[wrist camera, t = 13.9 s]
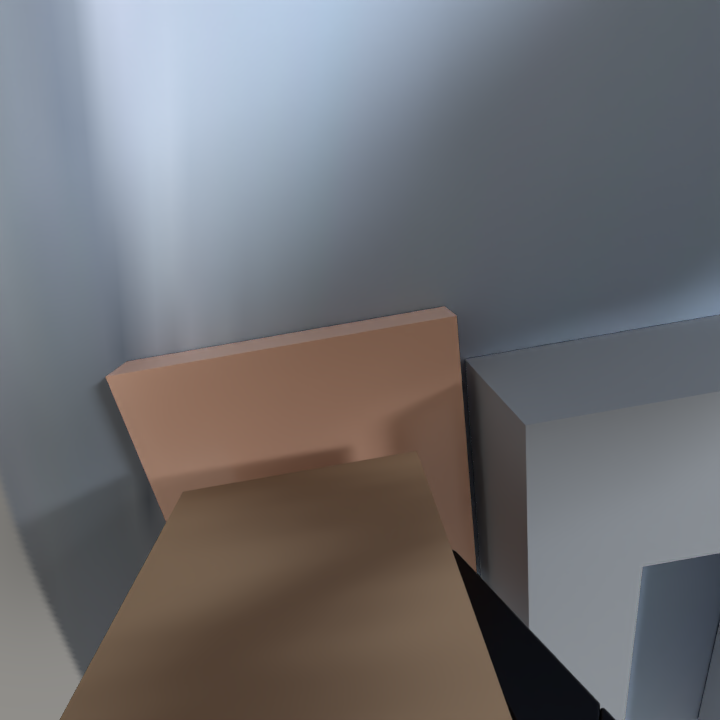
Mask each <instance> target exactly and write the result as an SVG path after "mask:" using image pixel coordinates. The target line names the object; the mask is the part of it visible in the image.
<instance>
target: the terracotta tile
mask: <svg viewBox="0 0 720 720" xmlns="http://www.w3.org/2000/svg"><path fill="white" fill-rule="evenodd" d="M106 379H107V382H108V384H109V386H110V389H111V391H112V394H113V396H114V398H115V401H116V403H117V406H118V408H119V410H120V413H121V415H122V418H123V420H124V422H125V425H126V427H127V430H128V432H129V434H130V437H131V439H132V442H133V444H134V446H135V449H136V451H137V454H138V456H139V458H140V461H141V463H142V465H143V468H144V470H145V473H146V475H147V477H148V480H149V482H150V485H151V487H152V489H153V492H154V494H155V497H156V499H157V501H158V504H159V506H160V509H161V511H162V513H163V516H164V518H165V521H166V522H167V520H168V518H169V517H170V515H171V513H172V511H173V509H174V507H175V505H176V504H177V502H178V500H179V498H180V496H181V494H182V492H183V491H189V490H195V489H201V488H206V487H212V486H218V485H224V484H229V483H235V482H241V481H247V480H252V479H258V478H264V477H270V476H275V475H281V474H287V473H293V472H298V471H304V470H310V469H316V468H321V467H327V466H333V465H339V464H344V463H350V462H356V461H361V460H367V459H373V458H379V457H384V456H390V455H396V454H402V453H407V452H413V451H417V453H418V456H419V459H420V461H421V464H422V467H423V470H424V473H425V475H426V478H427V481H428V484H429V487H430V490H431V492H432V495H433V498H434V501H435V504H436V506H437V509H438V512H439V515H440V518H441V521H442V523H443V526H444V529H445V532H446V535H447V537H448V540H449V543H450V546H451V549H453V550H455V551H456V552H457V553H458V554H459V555H460V556H461V557H462V558H463V559H464V560H465V561H466V562H467V563H468V564H469V565H470V566H471V568H472V569H473V570H474V571H475V572H476V573H477V570H476V557H475V544H474V531H473V519H472V506H471V493H470V480H469V467H468V454H467V441H466V428H465V415H464V402H463V389H462V377H461V364H460V351H459V338H458V325H457V315H455V314H454V313H453V312H452V311H450V310H449V309H448V308H447V307H445V306H443V307H437V308H432V309H426V310H420V311H414V312H409V313H403V314H397V315H391V316H386V317H380V318H374V319H368V320H362V321H357V322H351V323H345V324H339V325H334V326H328V327H322V328H316V329H311V330H305V331H299V332H293V333H288V334H282V335H276V336H270V337H264V338H259V339H253V340H247V341H241V342H236V343H230V344H224V345H218V346H213V347H207V348H201V349H195V350H190V351H184V352H178V353H172V354H166V355H161V356H155V357H149V358H143V359H138V360H132V361H127V362H125V363H124V364H123V365H121V366H120V367H118V368H117V369H116V370H114V371H113V372H111V373H110V374H109V375H107V376H106Z"/></svg>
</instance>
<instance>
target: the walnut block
mask: <svg viewBox="0 0 720 720" xmlns="http://www.w3.org/2000/svg"><path fill="white" fill-rule="evenodd" d="M60 720H512V718H511V715H510V712H509V709H508V706H507V704H506V701H505V698H504V695H503V692H502V690H501V687H500V684H499V681H498V678H497V676H496V673H495V670H494V667H493V664H492V661H491V659H490V656H489V653H488V650H487V647H486V645H485V642H484V639H483V636H482V633H481V630H480V628H479V625H478V622H477V619H476V616H475V614H474V611H473V608H472V605H471V602H470V599H469V597H468V594H467V591H466V588H465V585H464V583H463V580H462V577H461V574H460V571H459V568H458V566H457V563H456V560H455V557H454V554H453V552H452V549H451V546H450V543H449V540H448V537H447V535H446V532H445V529H444V526H443V523H442V521H441V518H440V515H439V512H438V509H437V506H436V504H435V501H434V498H433V495H432V492H431V490H430V487H429V484H428V481H427V478H426V475H425V473H424V470H423V467H422V464H421V461H420V459H419V456H418V453H417V451H413V452H407V453H402V454H396V455H390V456H384V457H379V458H373V459H367V460H361V461H356V462H350V463H344V464H339V465H333V466H327V467H321V468H316V469H310V470H304V471H298V472H293V473H287V474H281V475H275V476H270V477H264V478H258V479H252V480H247V481H241V482H235V483H229V484H224V485H218V486H212V487H206V488H201V489H195V490H189V491H183V492H182V494H181V496H180V498H179V500H178V502H177V504H176V505H175V507H174V509H173V511H172V513H171V515H170V517H169V518H168V520H167V522H166V524H165V526H164V528H163V529H162V531H161V533H160V535H159V537H158V539H157V541H156V542H155V544H154V546H153V548H152V550H151V552H150V554H149V555H148V557H147V559H146V561H145V563H144V565H143V566H142V568H141V570H140V572H139V574H138V576H137V578H136V579H135V581H134V583H133V585H132V587H131V589H130V591H129V592H128V594H127V596H126V598H125V600H124V602H123V603H122V605H121V607H120V609H119V611H118V613H117V615H116V616H115V618H114V620H113V622H112V624H111V626H110V628H109V629H108V631H107V633H106V635H105V637H104V639H103V640H102V642H101V644H100V646H99V648H98V650H97V652H96V653H95V655H94V657H93V659H92V661H91V663H90V665H89V666H88V668H87V670H86V672H85V674H84V676H83V677H82V679H81V681H80V683H79V685H78V687H77V689H76V690H75V692H74V694H73V696H72V698H71V700H70V702H69V704H68V705H67V707H66V709H65V711H64V713H63V715H62V716H61V718H60Z"/></svg>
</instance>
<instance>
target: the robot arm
mask: <svg viewBox="0 0 720 720" xmlns="http://www.w3.org/2000/svg"><path fill="white" fill-rule="evenodd" d="M452 552H453V554H454V557H455V560H456V563H457V566H458V568H459V571H460V574H461V577H462V580H463V583H464V585H465V588H466V591H467V594H468V597H469V599H470V602H471V605H472V608H473V611H474V614H475V616H476V619H477V622H478V625H479V628H480V630H481V633H482V636H483V639H484V642H485V645H486V647H487V650H488V653H489V656H490V659H491V661H492V664H493V667H494V670H495V673H496V676H497V678H498V681H499V684H500V687H501V690H502V692H503V695H504V698H505V701H506V704H507V706H508V709H509V712H510V715H511V718H512V720H616V719H615V718H614V717H613V716H612V715H611V714H610V713H609V712H608V711H607V710H606V709H605V708H601V709H600V703H599V702H598V701H597V700H596V699H595V698H594V696H593V695H592V694H591V693H590V692H589V691H588V690H587V689H586V688H585V687H584V686H583V685H582V684H581V683H580V682H579V681H578V680H577V678H576V677H575V676H574V675H573V674H572V673H571V672H570V671H569V670H568V669H567V668H566V667H565V666H564V665H563V664H562V663H561V662H560V661H559V659H558V658H557V657H556V656H555V655H554V654H553V653H552V652H551V651H550V650H549V649H548V648H547V647H546V646H545V645H544V644H543V643H542V641H541V640H540V639H539V638H538V637H537V636H536V635H535V634H534V633H533V632H532V631H531V630H530V629H529V628H528V627H527V626H526V625H525V624H524V622H523V621H522V620H521V619H520V618H519V617H518V616H517V615H516V614H515V613H514V612H513V611H512V610H511V609H510V608H509V607H508V606H507V605H506V603H505V602H504V601H503V600H502V599H501V598H500V597H499V596H498V595H497V594H496V593H495V592H494V591H493V590H492V589H491V588H490V587H489V585H488V584H487V583H486V582H485V581H484V580H483V579H482V578H481V577H480V576H479V575H478V574H477V573H476V572H475V571H474V570H473V569H472V568H471V566H470V565H469V564H468V563H467V562H466V561H465V560H464V559H463V558H462V557H461V556H460V555H459V554H458V553H457V552H456V551H455V550H453V549H452Z"/></svg>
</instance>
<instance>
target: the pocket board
mask: <svg viewBox="0 0 720 720" xmlns="http://www.w3.org/2000/svg"><path fill="white" fill-rule="evenodd" d="M465 367H466V381H467V395H468V408H469V422H470V436H471V449H472V463H473V477H474V491H475V504H476V518H477V532H478V545H479V559H480V573H481V578H482V579H483V580H484V581H485V582H486V583H487V584H488V585H489V587H490V588H491V589H492V590H493V591H494V592H495V593H496V594H497V595H498V596H499V597H500V598H501V599H502V600H503V601H504V602H505V603H506V605H507V606H508V607H509V608H510V609H511V610H512V611H513V612H514V613H515V614H516V615H517V616H518V617H519V618H520V619H521V620H522V621H523V622H524V624H525V625H526V626H527V627H528V628H529V629H530V630H531V631H532V632H533V633H534V634H535V635H536V636H537V637H538V638H539V639H540V640H541V641H542V643H543V644H544V645H545V646H546V647H547V648H548V649H549V650H550V651H551V652H552V653H553V654H554V655H555V656H556V657H557V658H558V659H559V661H560V662H561V663H562V664H563V665H564V666H565V667H566V668H567V669H568V670H569V671H570V672H571V673H572V674H573V675H574V676H575V677H576V678H577V680H578V681H579V682H580V683H581V684H582V685H583V686H584V687H585V688H586V689H587V690H588V691H589V692H590V693H591V694H592V695H593V696H594V698H595V699H596V700H597V701H598V702H599V703H600V709H601V708H605V709H606V710H607V711H608V712H609V713H610V714H611V715H612V716H613V717H614V718H615V719H616V720H625V715H626V706H627V698H628V689H629V681H630V672H631V663H632V655H633V646H634V638H635V629H636V621H637V612H638V604H639V595H640V587H641V578H642V570H643V567H645V566H650V565H656V564H662V563H667V562H673V561H678V560H684V559H690V558H695V557H701V556H706V555H712V554H718V553H720V315H716V316H710V317H704V318H698V319H693V320H687V321H681V322H675V323H670V324H664V325H658V326H653V327H647V328H641V329H635V330H630V331H624V332H618V333H612V334H607V335H601V336H595V337H589V338H584V339H578V340H572V341H567V342H561V343H555V344H549V345H544V346H538V347H532V348H526V349H521V350H515V351H509V352H503V353H498V354H492V355H486V356H480V357H475V358H469V359H465ZM698 720H720V622H719V627H718V631H717V636H716V640H715V645H714V649H713V654H712V658H711V663H710V667H709V672H708V676H707V681H706V685H705V690H704V695H703V699H702V704H701V708H700V713H699V717H698Z"/></svg>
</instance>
